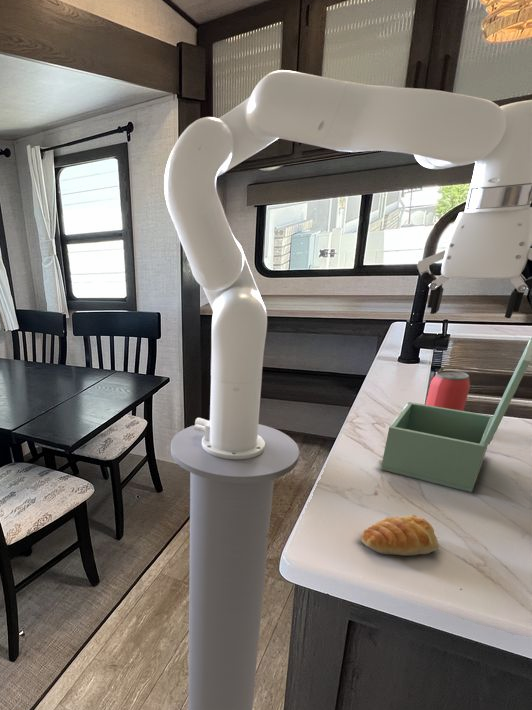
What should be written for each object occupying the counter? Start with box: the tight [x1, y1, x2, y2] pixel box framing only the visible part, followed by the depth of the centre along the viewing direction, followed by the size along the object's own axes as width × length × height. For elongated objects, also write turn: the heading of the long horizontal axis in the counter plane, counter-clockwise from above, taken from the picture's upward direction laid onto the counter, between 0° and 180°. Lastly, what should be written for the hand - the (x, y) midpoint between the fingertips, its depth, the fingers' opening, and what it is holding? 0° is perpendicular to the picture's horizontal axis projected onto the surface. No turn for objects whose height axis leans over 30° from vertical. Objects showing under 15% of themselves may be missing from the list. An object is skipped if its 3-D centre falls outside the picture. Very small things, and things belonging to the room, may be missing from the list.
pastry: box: [361, 514, 439, 557], centre depth 69 cm, size 9×7×4 cm
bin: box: [380, 401, 494, 493], centre depth 87 cm, size 14×15×9 cm
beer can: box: [425, 369, 471, 411], centre depth 99 cm, size 7×7×12 cm
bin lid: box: [483, 337, 532, 446], centre depth 75 cm, size 14×15×6 cm
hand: (469, 314), depth 77 cm, fingers open, 9 cm apart
